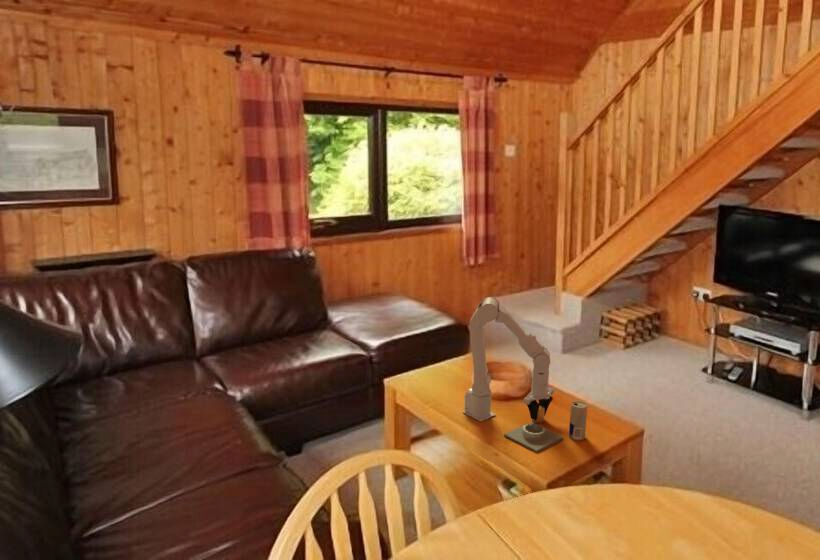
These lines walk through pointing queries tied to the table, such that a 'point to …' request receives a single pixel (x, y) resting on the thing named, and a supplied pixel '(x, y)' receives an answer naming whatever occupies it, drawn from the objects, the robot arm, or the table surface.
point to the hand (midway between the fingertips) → (537, 416)
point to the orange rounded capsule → (540, 415)
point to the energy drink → (578, 420)
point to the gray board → (533, 445)
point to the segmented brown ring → (533, 436)
